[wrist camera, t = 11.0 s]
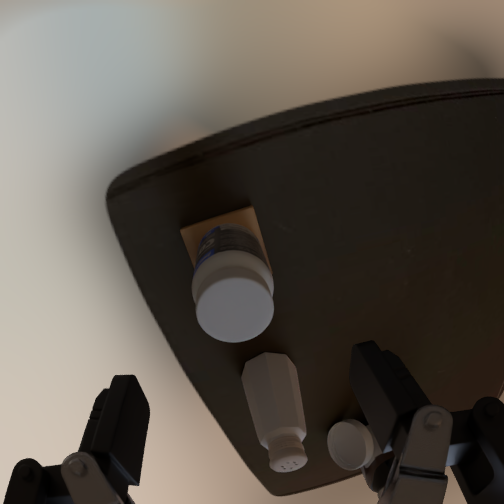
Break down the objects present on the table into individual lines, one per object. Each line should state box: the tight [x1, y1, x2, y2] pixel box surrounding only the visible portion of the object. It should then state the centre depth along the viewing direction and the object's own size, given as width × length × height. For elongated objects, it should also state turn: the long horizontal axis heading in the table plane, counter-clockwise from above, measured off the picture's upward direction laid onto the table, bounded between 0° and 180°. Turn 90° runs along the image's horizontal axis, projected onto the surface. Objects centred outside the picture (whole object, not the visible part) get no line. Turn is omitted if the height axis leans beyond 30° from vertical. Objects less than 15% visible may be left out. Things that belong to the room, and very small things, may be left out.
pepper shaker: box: [241, 352, 308, 472], centre depth 23 cm, size 5×5×11 cm
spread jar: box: [327, 419, 395, 498], centre depth 29 cm, size 12×11×12 cm
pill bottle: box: [192, 223, 274, 342], centre depth 19 cm, size 5×5×8 cm
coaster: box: [180, 205, 272, 274], centre depth 23 cm, size 6×6×1 cm
